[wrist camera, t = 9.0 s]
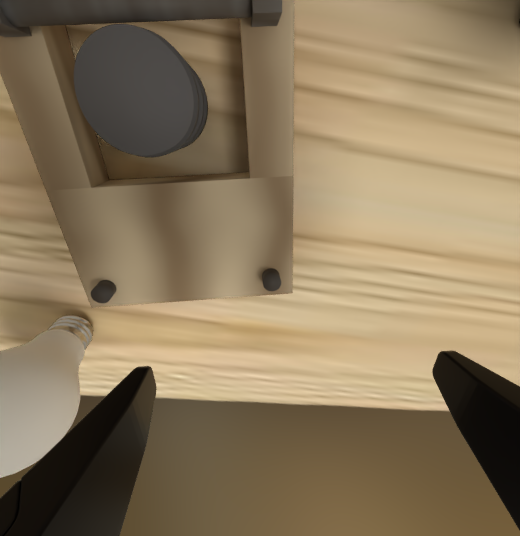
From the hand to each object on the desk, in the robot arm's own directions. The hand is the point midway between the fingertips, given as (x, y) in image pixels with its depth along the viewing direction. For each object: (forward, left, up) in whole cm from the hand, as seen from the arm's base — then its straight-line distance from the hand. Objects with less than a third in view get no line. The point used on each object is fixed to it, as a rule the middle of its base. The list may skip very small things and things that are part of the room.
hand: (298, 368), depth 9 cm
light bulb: (+15, +7, -13) cm, 21 cm away
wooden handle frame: (+5, -4, -13) cm, 15 cm away
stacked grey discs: (+5, -8, -13) cm, 16 cm away
